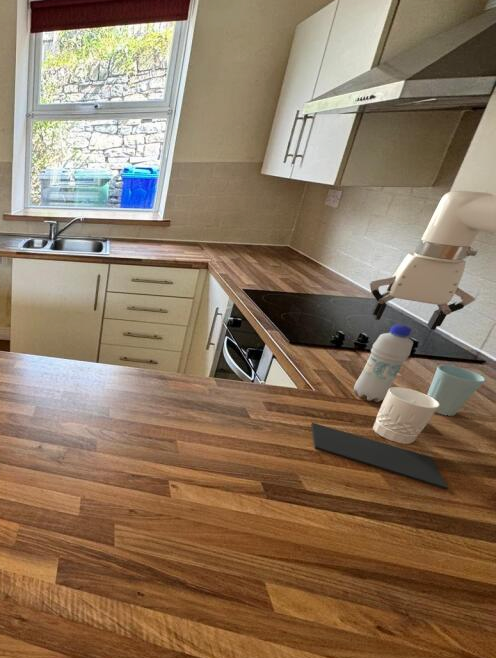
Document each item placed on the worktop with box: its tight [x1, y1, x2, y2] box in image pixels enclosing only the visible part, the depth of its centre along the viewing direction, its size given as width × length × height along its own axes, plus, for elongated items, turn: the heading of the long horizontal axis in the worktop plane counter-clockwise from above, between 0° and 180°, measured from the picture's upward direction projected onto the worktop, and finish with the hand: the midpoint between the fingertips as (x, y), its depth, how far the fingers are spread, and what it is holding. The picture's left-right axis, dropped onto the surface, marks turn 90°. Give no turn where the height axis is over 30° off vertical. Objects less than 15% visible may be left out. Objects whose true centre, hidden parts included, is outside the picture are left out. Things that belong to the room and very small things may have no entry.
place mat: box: [310, 422, 449, 491], centre depth 84 cm, size 20×10×1 cm, turn 57°
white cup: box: [372, 386, 440, 445], centre depth 87 cm, size 8×8×10 cm
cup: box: [426, 364, 486, 417], centre depth 97 cm, size 8×8×10 cm
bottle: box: [353, 324, 414, 403], centre depth 99 cm, size 7×7×20 cm
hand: (402, 322), depth 95 cm, fingers open, 9 cm apart
